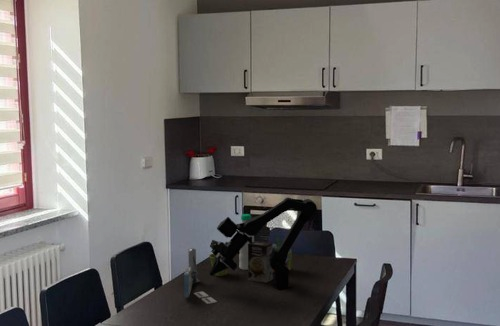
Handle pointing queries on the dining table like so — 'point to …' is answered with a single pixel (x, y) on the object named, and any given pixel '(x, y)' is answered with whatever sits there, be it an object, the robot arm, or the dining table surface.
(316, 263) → the dining table surface
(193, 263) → the post
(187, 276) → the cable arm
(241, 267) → the water bottle
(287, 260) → the chalk box
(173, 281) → the dining table surface
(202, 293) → the psu label
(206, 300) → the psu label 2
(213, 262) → the plant pot
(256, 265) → the coffee box
